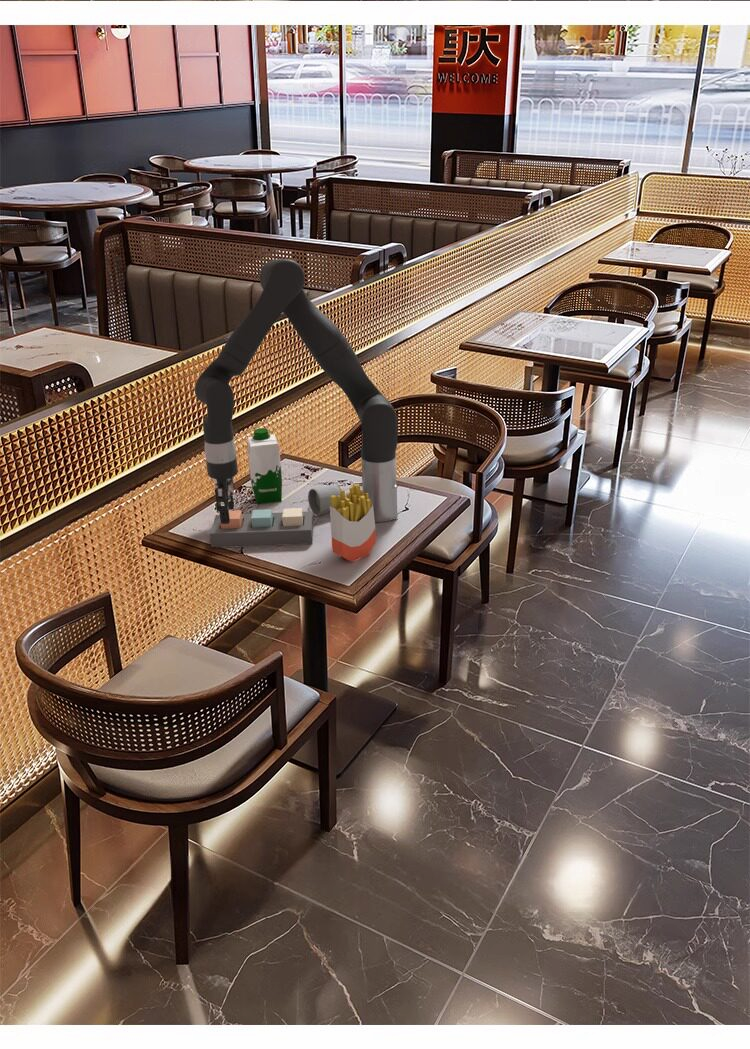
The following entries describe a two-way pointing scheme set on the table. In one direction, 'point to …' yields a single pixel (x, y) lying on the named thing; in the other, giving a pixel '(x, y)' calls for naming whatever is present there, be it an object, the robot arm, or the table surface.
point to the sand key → (292, 517)
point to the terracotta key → (234, 520)
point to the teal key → (262, 518)
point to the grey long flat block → (263, 533)
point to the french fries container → (352, 524)
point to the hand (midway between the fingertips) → (227, 515)
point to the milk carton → (265, 467)
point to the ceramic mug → (322, 498)
